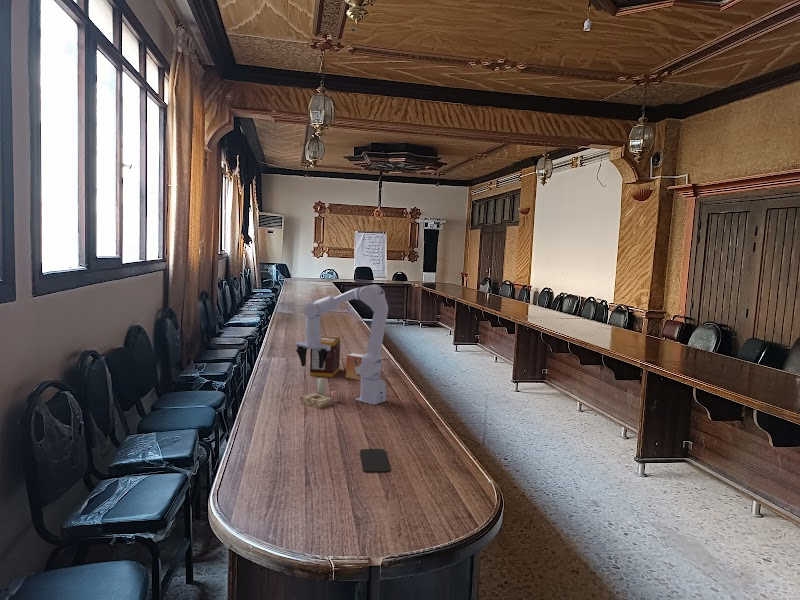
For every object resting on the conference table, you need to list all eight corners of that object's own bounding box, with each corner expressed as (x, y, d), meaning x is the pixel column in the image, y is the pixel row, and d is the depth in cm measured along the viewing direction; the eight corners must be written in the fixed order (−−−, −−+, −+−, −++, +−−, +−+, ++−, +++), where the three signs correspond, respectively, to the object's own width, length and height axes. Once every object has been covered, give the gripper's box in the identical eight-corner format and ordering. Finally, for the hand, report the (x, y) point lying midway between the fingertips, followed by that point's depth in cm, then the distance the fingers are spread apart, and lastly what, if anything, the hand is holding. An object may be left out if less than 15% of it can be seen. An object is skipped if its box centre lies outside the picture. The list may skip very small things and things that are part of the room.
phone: (363, 471, 143) (359, 449, 157) (362, 474, 143) (359, 451, 158) (390, 470, 144) (384, 448, 159) (390, 473, 144) (384, 451, 159)
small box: (345, 378, 239) (346, 354, 238) (352, 375, 244) (353, 352, 243) (360, 380, 235) (361, 357, 234) (367, 378, 240) (368, 354, 239)
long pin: (325, 398, 208) (326, 378, 207) (321, 399, 206) (321, 380, 205) (320, 396, 210) (321, 377, 209) (316, 398, 207) (316, 378, 207)
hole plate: (331, 404, 200) (331, 398, 200) (319, 408, 195) (319, 401, 195) (311, 399, 206) (311, 392, 206) (300, 402, 201) (300, 396, 201)
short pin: (339, 401, 204) (339, 391, 204) (334, 403, 202) (334, 392, 202) (334, 400, 206) (334, 390, 205) (329, 401, 203) (329, 391, 203)
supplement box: (339, 369, 255) (340, 336, 253) (332, 377, 240) (333, 342, 238) (318, 367, 256) (319, 335, 254) (309, 375, 241) (310, 341, 239)
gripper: (334, 332, 214) (333, 366, 216) (301, 329, 219) (300, 362, 220) (326, 335, 207) (325, 370, 209) (292, 332, 212) (292, 366, 213)
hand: (312, 366), depth 214 cm, fingers open, 7 cm apart
